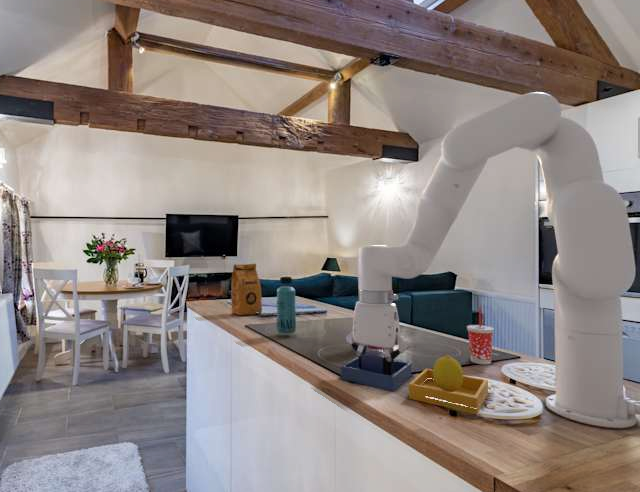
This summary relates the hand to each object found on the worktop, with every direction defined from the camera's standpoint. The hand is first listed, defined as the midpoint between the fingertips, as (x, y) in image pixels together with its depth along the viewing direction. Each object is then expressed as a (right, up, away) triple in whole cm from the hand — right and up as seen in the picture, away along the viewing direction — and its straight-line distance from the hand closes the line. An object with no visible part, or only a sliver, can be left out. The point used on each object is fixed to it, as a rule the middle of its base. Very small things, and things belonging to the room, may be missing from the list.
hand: (375, 373), depth 95 cm
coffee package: (-29, -2, +80) cm, 86 cm away
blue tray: (0, -1, 0) cm, 1 cm away
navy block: (0, 0, 0) cm, 0 cm away
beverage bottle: (-16, -1, +41) cm, 44 cm away
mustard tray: (+11, -1, -12) cm, 16 cm away
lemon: (+11, 0, -12) cm, 16 cm away
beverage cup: (+31, -1, +11) cm, 33 cm away
